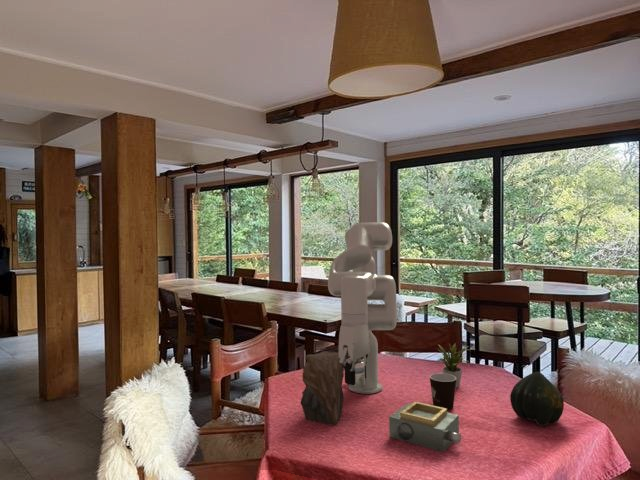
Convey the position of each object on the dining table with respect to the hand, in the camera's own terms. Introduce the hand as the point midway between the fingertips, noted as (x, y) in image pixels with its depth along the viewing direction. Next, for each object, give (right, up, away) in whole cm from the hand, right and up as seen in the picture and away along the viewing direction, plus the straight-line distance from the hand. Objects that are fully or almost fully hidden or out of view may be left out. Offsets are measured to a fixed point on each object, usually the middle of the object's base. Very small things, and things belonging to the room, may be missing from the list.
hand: (355, 380), depth 132 cm
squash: (+57, -15, +10) cm, 59 cm away
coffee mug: (+31, -15, +22) cm, 41 cm away
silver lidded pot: (0, -1, 0) cm, 1 cm away
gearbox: (+21, -16, -2) cm, 26 cm away
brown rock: (-8, -16, +14) cm, 23 cm away
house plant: (+40, -15, +40) cm, 59 cm away
